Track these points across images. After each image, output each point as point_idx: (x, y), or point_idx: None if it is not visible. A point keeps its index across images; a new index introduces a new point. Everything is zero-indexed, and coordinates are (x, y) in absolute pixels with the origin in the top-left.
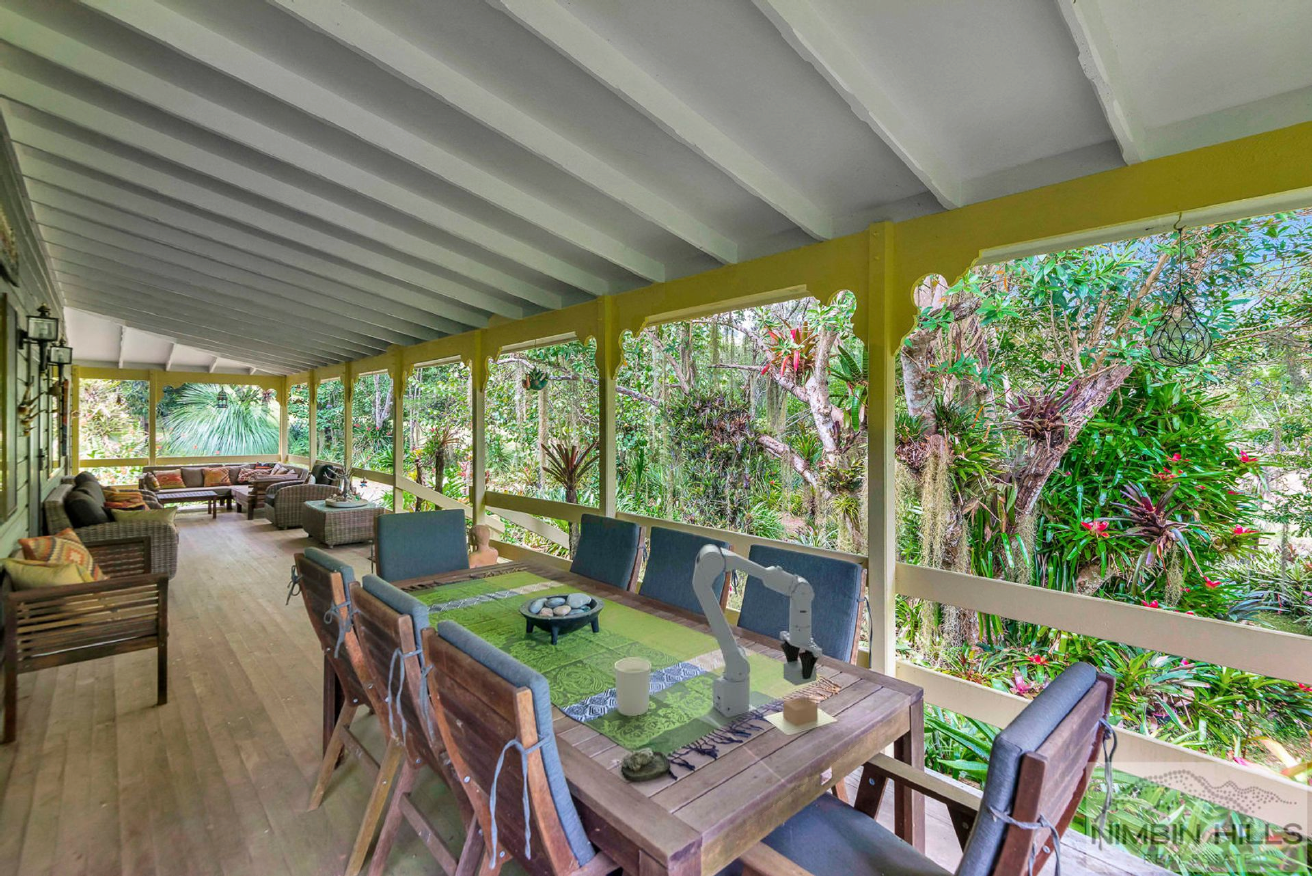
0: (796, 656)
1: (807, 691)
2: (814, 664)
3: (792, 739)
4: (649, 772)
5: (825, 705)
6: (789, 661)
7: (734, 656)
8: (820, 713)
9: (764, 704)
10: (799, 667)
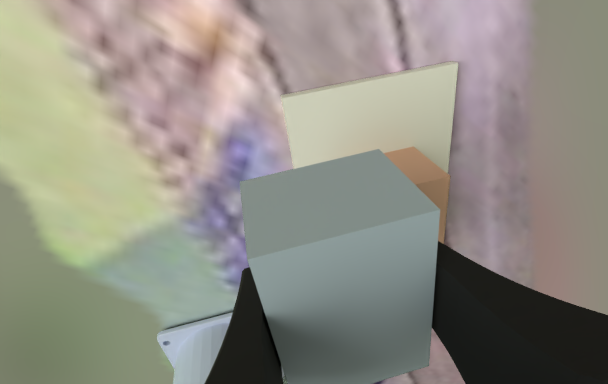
0: (268, 359)
1: (109, 19)
2: (514, 286)
3: None
4: None
5: (299, 15)
6: (281, 378)
7: None
8: (378, 106)
9: (219, 269)
10: (398, 338)
